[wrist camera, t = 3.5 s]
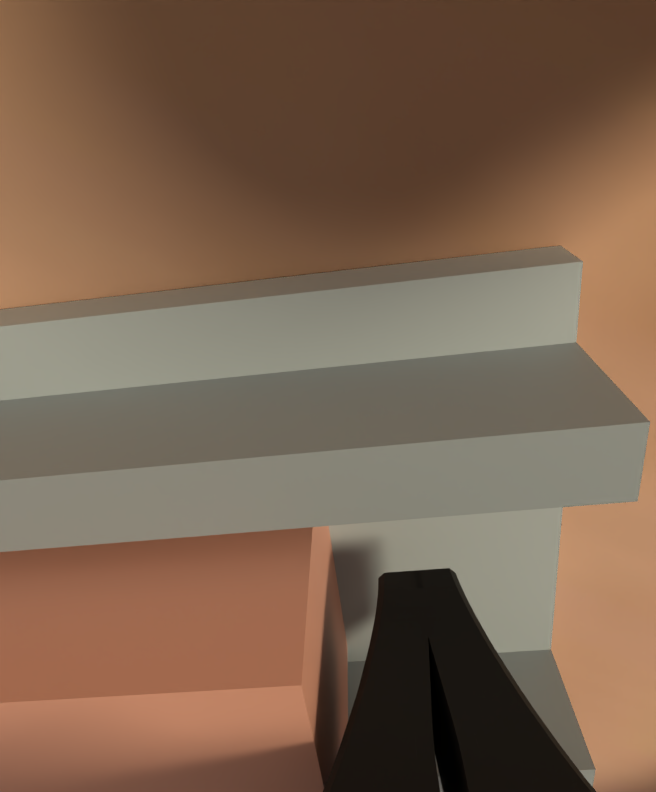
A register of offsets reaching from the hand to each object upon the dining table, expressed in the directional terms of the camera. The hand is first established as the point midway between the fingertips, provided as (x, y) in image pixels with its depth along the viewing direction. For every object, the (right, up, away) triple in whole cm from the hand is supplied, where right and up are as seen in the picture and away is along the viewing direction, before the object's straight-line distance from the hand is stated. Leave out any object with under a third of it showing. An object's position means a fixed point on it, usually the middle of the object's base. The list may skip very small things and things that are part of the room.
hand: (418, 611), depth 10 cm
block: (-4, 0, +2) cm, 5 cm away
